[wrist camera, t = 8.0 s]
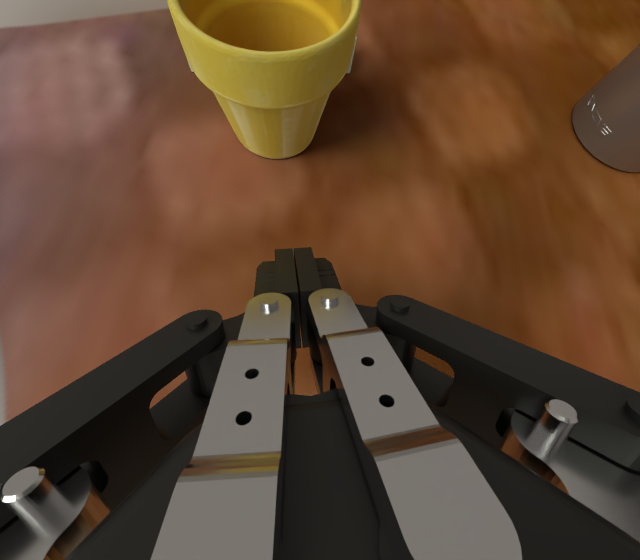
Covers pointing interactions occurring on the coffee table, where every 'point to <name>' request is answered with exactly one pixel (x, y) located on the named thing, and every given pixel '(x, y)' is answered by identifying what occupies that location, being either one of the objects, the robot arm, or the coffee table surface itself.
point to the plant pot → (269, 63)
